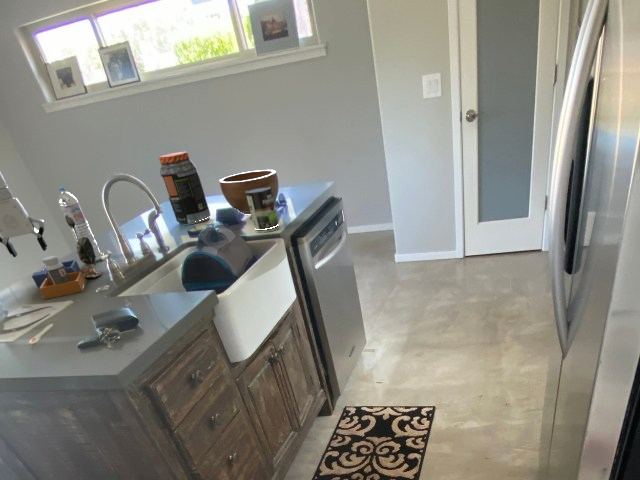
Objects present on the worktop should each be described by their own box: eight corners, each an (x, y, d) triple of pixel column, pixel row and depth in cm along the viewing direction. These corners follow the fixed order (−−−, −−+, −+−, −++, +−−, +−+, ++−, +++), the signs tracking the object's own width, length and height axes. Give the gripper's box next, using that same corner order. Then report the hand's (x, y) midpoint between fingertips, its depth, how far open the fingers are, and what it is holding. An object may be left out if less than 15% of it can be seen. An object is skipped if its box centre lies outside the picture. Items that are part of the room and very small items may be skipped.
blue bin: (44, 284, 187) (39, 273, 184) (49, 275, 195) (44, 265, 192) (76, 277, 188) (71, 267, 186) (80, 269, 196) (75, 259, 194)
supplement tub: (213, 214, 245) (194, 148, 228) (209, 222, 233) (188, 153, 216) (180, 219, 245) (158, 154, 228) (174, 227, 233) (151, 159, 216)
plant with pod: (111, 269, 191) (84, 208, 178) (95, 279, 183) (65, 216, 170) (91, 271, 193) (63, 210, 179) (74, 281, 184) (44, 219, 171)
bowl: (263, 222, 221) (253, 181, 211) (218, 222, 230) (207, 183, 220) (295, 207, 236) (287, 168, 226) (251, 208, 246) (242, 171, 236)
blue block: (39, 289, 182) (31, 276, 178) (41, 286, 185) (34, 272, 182) (52, 287, 182) (45, 273, 179) (54, 283, 186) (47, 269, 183)
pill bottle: (77, 285, 178) (62, 254, 172) (66, 291, 174) (50, 260, 168) (64, 285, 180) (49, 255, 173) (52, 291, 176) (36, 260, 169)
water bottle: (101, 256, 208) (69, 184, 191) (105, 259, 203) (72, 186, 186) (84, 261, 205) (50, 188, 188) (87, 264, 201) (52, 190, 184)
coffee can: (285, 225, 212) (276, 186, 202) (269, 233, 205) (259, 192, 196) (265, 225, 216) (256, 186, 207) (249, 232, 210) (239, 192, 200)
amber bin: (44, 299, 172) (38, 288, 170) (50, 288, 181) (45, 278, 179) (82, 291, 174) (77, 280, 172) (86, 281, 183) (81, 270, 181)
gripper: (-33, 203, 161) (1, 261, 172) (25, 192, 163) (55, 250, 175) (-27, 199, 166) (6, 255, 178) (29, 188, 169) (58, 244, 180)
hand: (30, 252), depth 176 cm, fingers open, 9 cm apart
